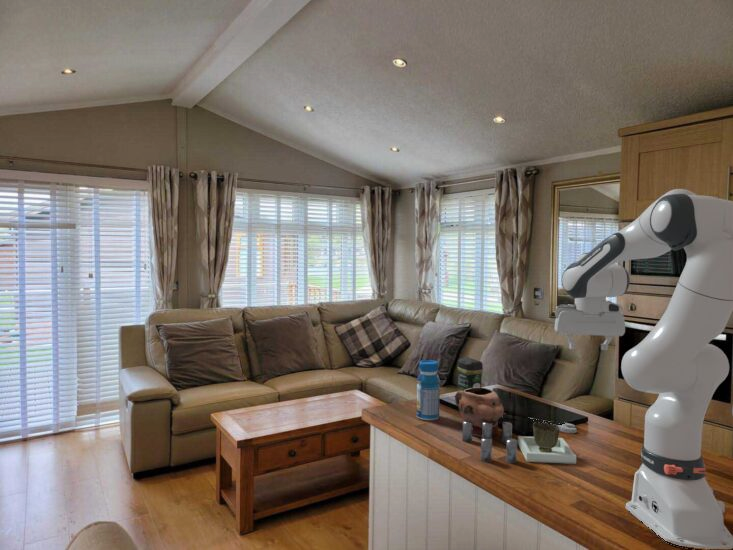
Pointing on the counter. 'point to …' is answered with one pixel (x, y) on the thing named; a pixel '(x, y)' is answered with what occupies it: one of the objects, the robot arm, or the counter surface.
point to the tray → (558, 454)
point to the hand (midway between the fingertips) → (588, 349)
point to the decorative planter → (480, 408)
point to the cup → (545, 436)
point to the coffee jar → (469, 374)
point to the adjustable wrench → (566, 427)
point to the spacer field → (487, 440)
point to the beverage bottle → (428, 391)
